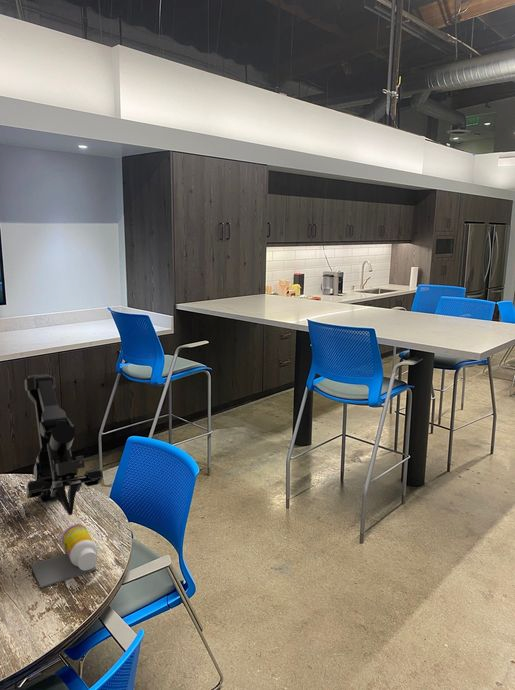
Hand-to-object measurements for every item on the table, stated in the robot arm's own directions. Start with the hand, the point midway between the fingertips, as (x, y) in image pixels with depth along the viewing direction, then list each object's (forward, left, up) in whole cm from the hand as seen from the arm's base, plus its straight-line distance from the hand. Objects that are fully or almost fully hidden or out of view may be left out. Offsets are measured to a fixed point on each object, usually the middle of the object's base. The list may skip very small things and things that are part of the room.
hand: (70, 514), depth 137 cm
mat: (+9, -4, -9) cm, 13 cm away
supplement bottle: (+2, 0, -5) cm, 5 cm away
